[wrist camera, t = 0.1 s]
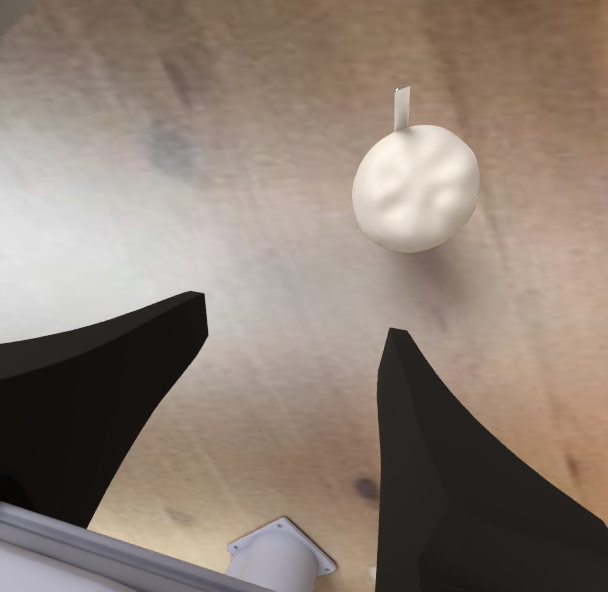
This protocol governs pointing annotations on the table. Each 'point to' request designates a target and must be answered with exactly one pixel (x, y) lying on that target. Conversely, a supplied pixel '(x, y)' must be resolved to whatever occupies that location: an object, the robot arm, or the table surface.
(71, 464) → the robot arm
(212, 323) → the table surface
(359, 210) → the milkshake
